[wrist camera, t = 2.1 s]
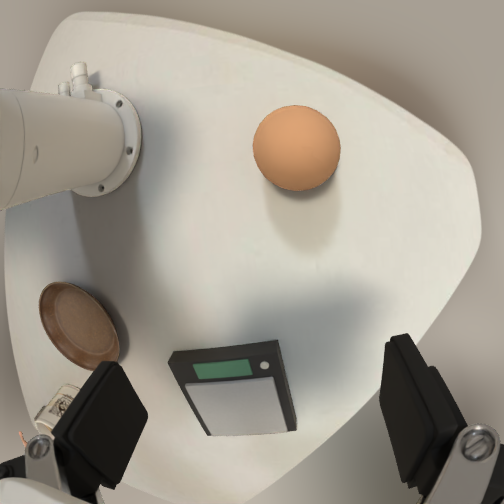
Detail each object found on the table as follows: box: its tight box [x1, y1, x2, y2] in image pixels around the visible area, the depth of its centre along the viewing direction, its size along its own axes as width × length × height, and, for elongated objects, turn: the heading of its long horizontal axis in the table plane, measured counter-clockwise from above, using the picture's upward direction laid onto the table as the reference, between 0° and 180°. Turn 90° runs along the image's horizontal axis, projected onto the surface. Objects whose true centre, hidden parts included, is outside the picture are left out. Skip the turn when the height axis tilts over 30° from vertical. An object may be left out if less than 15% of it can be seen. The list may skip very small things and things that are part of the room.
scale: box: [168, 340, 297, 436], centre depth 36 cm, size 16×14×3 cm
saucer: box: [39, 282, 119, 371], centre depth 36 cm, size 15×15×3 cm
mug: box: [35, 385, 80, 440], centre depth 39 cm, size 10×12×11 cm
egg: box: [253, 105, 341, 191], centre depth 23 cm, size 7×7×8 cm
